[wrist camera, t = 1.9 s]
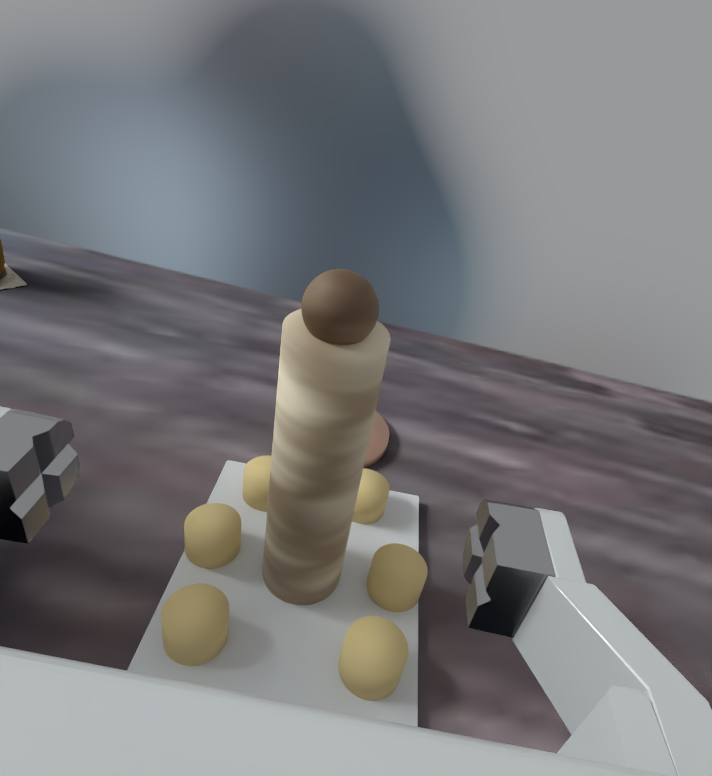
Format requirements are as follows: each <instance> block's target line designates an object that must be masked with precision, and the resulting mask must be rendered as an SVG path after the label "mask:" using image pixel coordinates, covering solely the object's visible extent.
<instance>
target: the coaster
mask: <svg viewBox="0 0 712 776" xmlns="http://www.w3.org/2000/svg"><path fill="white" fill-rule="evenodd" d="M388 441H389V429H388V426H387V423H386V422H385V420H384V419H383V417H382V416H381V415H380V414H379V413H378V412H377V411H376V410H375V415H374V420H373V424H372V429H371V434H370V439H369V443H368V448H367V453H366V457H365V462H364V467H363V468H366V467H369V466H370V465H372V464H374V463H376V462H377V461H378V460H379V459H380V458H381V457H382V456H383V455H384V453H385V451H386V449H387V445H388Z"/></svg>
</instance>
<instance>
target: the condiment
mask: <svg viewBox="0 0 712 776" xmlns="http://www.w3.org/2000/svg"><path fill="white" fill-rule="evenodd" d="M24 285H27V284H26V283H25V282H24V281H23V280H22V279H21V278H20V277H19V276H18V275H17V274H16V273H15V272H14V271H13V270H11V268H10V267H8V265H6V264H5V261H4V255H3V247H2V244H1V240H0V290H1V289H6V288H15V287H18V286H24Z"/></svg>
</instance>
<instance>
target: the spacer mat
mask: <svg viewBox="0 0 712 776" xmlns="http://www.w3.org/2000/svg"><path fill="white" fill-rule="evenodd" d="M271 458H272V456H260V457H256V458H254V459H252V460H250V461H249V462H248V463H247V464H246V463H240V462H235V461H230V460H227V462H226V464H225V466H224V468H223V470H222V472H221V474H220V477H219V479H218V481H217V483H216V485H215V487H214V489H213V491H212V493H211V495H210V498H209V500H208V502H207V504H204V505H201V506H199V507H197V508H195V509H194V510H193V511H191V512H190V513H189V515H188V516H187V517H186V520H185V523H184V538H185V550H184V552H183V554H182V556H181V558H180V560H179V563H178V565H177V567H176V569H175V571H174V573H173V575H172V577H171V579H170V581H169V583H168V586H167V588H166V590H165V592H164V594H163V596H162V598H161V600H160V602H159V604H158V607H157V609H156V611H155V613H154V615H153V617H152V619H151V621H150V623H149V625H148V628H147V630H146V632H145V634H144V636H143V638H142V640H141V642H140V644H139V646H138V648H137V651H136V653H135V655H134V657H133V659H132V661H131V663H130V665H129V667H128V669H127V671H131V672H137V673H142V674H147V675H152V676H157V677H162V678H168V679H173V680H178V681H183V682H188V683H193V684H198V685H204V686H209V687H214V688H219V689H224V690H229V691H235V692H240V693H245V694H250V695H255V696H260V697H266V698H271V699H276V700H281V701H286V702H291V703H297V704H302V705H307V706H312V707H317V708H323V709H328V710H333V711H338V712H343V713H349V714H354V715H359V716H364V717H369V718H374V719H380V720H385V721H390V722H395V723H400V724H406V725H411V726H416V727H418V600H419V597H420V594H421V592H422V589H423V586H424V583H425V581H426V578H427V573H428V570H427V565H426V562H425V560H424V559H423V557H422V556H421V555H420V554H419V553H418V552H419V496H415V495H410V494H405V493H399V492H394V491H390V486H389V483H388V481H387V480H386V478H385V477H384V476H383V475H381V474H380V473H378V472H376V471H374V470H371V469H365V468H363V471H362V476H361V481H360V486H359V490H358V495H357V500H356V504H355V509H354V514H353V519H352V523H351V528H350V533H349V537H348V542H347V547H346V551H345V556H344V561H343V566H342V570H341V575H340V579H339V583H338V585H337V587H336V589H335V590H334V591H333V593H332V594H331V595H330V596H329V597H327V598H326V599H324V600H322V601H320V602H318V603H315V604H311V605H294V604H290V603H287V602H284V601H282V600H280V599H278V598H277V597H276V596H274V595H273V594H272V593H271V592H270V591H269V589H268V588H267V586H266V585H265V582H264V580H263V575H262V567H263V555H264V543H265V531H266V519H267V507H268V494H269V482H270V470H271Z"/></svg>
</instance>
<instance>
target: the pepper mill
mask: <svg viewBox="0 0 712 776" xmlns="http://www.w3.org/2000/svg"><path fill="white" fill-rule="evenodd" d="M378 314H379V304H378V298H377V295H376V292H375V290H374V289H373V287H372V286H371V284H370V283H369V282H368V281H367V280H366V279H365V278H364V277H363V276H361V275H359V274H358V273H356V272H353V271H350V270H345V269H335V270H330V271H327V272H324V273H322V274H321V275H319V276H317V277H316V278H315V279H314V280H313V281H312V282H311V283H310V284H309V286H308V287H307V289H306V291H305V293H304V296H303V299H302V306H301V309H299V310H296V311H294V312H292V313H291V314H289V315H288V316H287V317H286V318H285V319H284V321H283V326H282V338H281V350H280V362H279V374H278V386H277V398H276V410H275V422H274V434H273V446H272V458H271V470H270V482H269V494H268V507H267V519H266V531H265V543H264V555H263V567H262V575H263V580H264V582H265V585H266V586H267V588H268V589H269V591H270V592H271V593H272V594H273V595H274V596H276V597H277V598H278V599H280V600H282V601H284V602H287V603H290V604H294V605H311V604H315V603H318V602H320V601H322V600H324V599H326V598H327V597H329V596H330V595H331V594H332V593H333V591H334V590H335V589H336V587H337V585H338V583H339V579H340V575H341V570H342V566H343V561H344V556H345V551H346V547H347V542H348V537H349V533H350V528H351V523H352V519H353V514H354V509H355V504H356V500H357V495H358V490H359V486H360V481H361V476H362V471H363V467H364V462H365V457H366V453H367V448H368V443H369V439H370V434H371V429H372V424H373V420H374V415H375V410H376V406H377V401H378V396H379V392H380V387H381V382H382V377H383V373H384V368H385V363H386V359H387V354H388V349H389V344H390V334H389V332H388V330H387V329H386V328H385V327H384V326H383V325H382V324H381V323H380V322H378V321H377V319H378Z"/></svg>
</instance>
